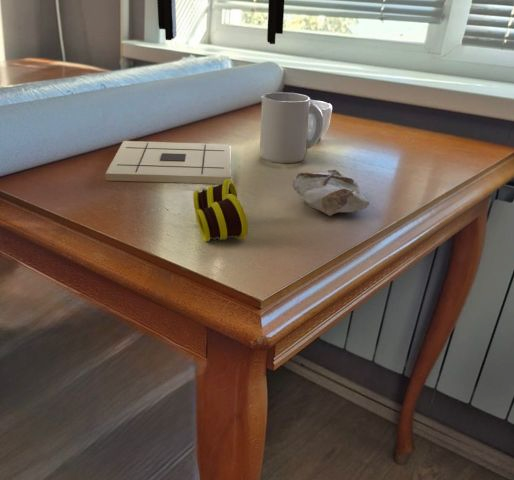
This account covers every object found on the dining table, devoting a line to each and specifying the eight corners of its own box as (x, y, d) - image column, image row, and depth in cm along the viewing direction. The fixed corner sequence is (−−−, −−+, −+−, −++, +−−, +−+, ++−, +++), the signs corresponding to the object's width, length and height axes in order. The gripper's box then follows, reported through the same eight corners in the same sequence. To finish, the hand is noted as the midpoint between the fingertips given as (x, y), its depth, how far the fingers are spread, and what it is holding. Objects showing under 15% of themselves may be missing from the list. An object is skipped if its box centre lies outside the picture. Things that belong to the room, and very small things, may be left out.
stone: (284, 188, 83) (285, 164, 81) (348, 187, 84) (351, 163, 83) (305, 221, 73) (307, 194, 71) (377, 218, 75) (381, 192, 73)
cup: (253, 151, 98) (255, 92, 93) (311, 149, 100) (316, 91, 95) (268, 164, 92) (271, 102, 87) (328, 161, 95) (335, 101, 90)
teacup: (286, 130, 111) (289, 98, 108) (329, 132, 110) (332, 101, 107) (283, 144, 102) (285, 110, 99) (329, 147, 102) (332, 113, 99)
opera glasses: (197, 221, 74) (188, 181, 71) (240, 212, 74) (233, 172, 71) (204, 254, 66) (194, 210, 63) (251, 244, 66) (244, 200, 63)
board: (105, 180, 82) (105, 172, 82) (123, 147, 97) (123, 140, 96) (231, 184, 83) (231, 176, 83) (230, 150, 98) (230, 143, 97)
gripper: (104, -212, 46) (123, 41, 55) (333, -201, 46) (314, 49, 55) (122, -192, 52) (137, 33, 61) (323, -182, 52) (308, 39, 62)
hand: (221, 40), depth 58 cm, fingers open, 9 cm apart
